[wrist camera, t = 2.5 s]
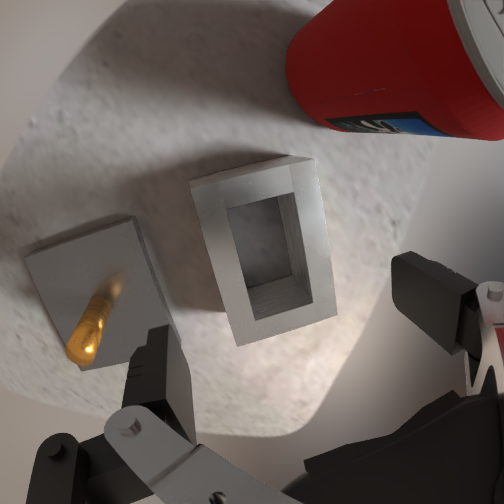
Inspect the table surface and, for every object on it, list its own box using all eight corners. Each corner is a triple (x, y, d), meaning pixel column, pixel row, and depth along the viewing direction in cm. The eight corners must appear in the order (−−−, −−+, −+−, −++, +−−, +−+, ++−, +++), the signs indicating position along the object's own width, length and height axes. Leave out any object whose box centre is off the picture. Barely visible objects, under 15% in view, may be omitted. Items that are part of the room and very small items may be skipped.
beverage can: (339, 157, 17) (525, 199, 6) (253, 69, 15) (377, -44, 4) (405, 87, 16) (576, 79, 5) (333, 4, 14) (478, -87, 3)
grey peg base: (30, 252, 15) (-15, 292, 10) (135, 216, 16) (112, 249, 11) (84, 362, 18) (65, 420, 13) (181, 340, 19) (182, 401, 14)
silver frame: (190, 179, 16) (190, 189, 13) (290, 155, 17) (314, 158, 13) (228, 312, 19) (237, 346, 16) (314, 286, 19) (337, 315, 16)
